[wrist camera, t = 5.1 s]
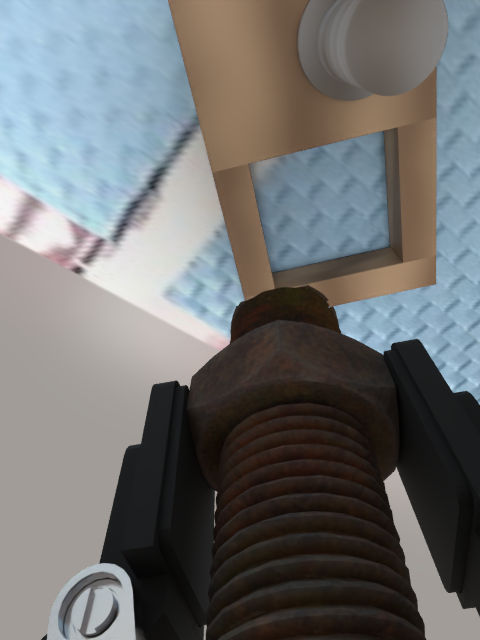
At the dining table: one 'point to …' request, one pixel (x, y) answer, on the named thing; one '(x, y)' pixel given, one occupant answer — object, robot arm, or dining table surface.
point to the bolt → (301, 479)
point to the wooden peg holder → (320, 119)
